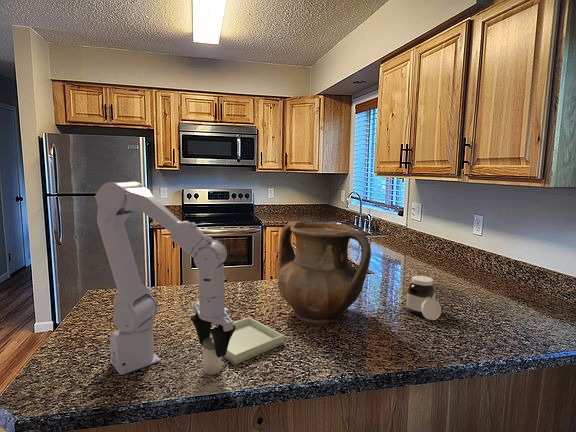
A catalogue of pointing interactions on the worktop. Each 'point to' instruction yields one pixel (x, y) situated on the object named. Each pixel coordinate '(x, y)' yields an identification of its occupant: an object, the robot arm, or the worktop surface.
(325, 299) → the jug
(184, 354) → the worktop surface
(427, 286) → the spread jar
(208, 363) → the cylinder
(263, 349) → the tray
